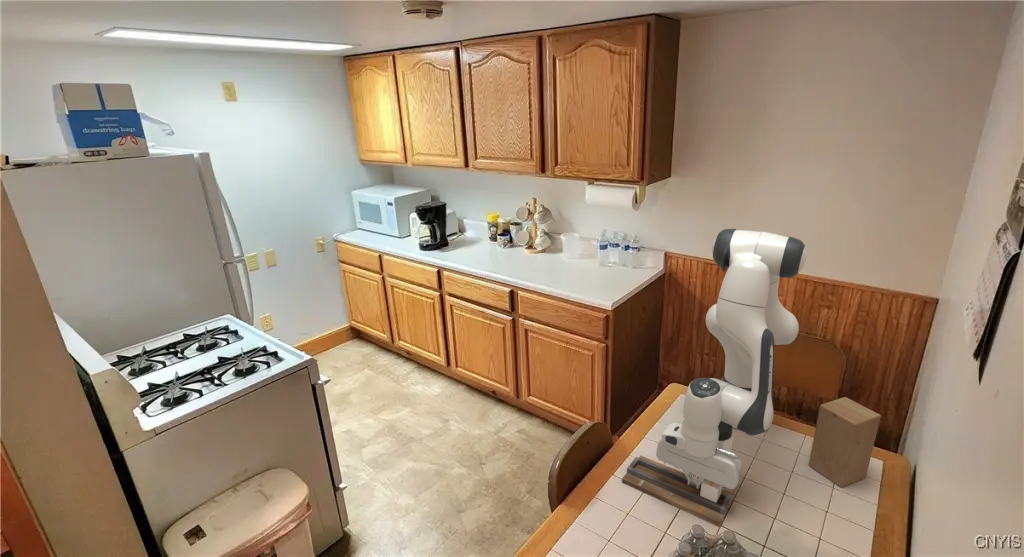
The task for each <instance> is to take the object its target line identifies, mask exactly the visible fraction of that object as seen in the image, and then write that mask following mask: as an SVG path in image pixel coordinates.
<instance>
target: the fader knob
mask: <svg viewBox="0 0 1024 557" xmlns="http://www.w3.org/2000/svg"><path fill="white" fill-rule="evenodd" d="M722 489H723V486H722V485H719V484H717V483H714V482H712V481H709V480H707V479H704V481H703V482H702V484H701V493H700V496H702V498H704V499H706V500H709V501H711V502H713V503H717V501H718V499H719V497H720V495H721V490H722Z"/></svg>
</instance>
